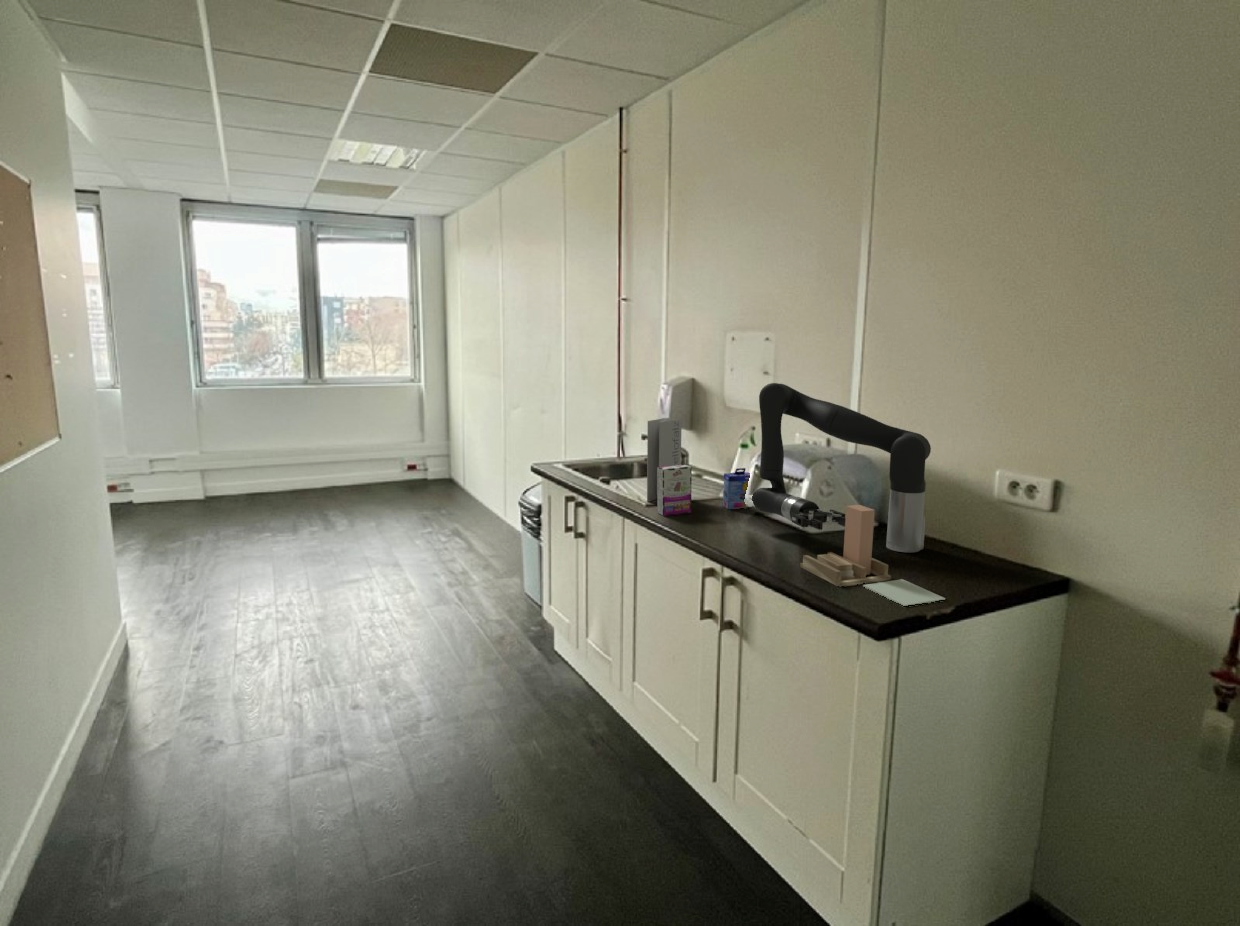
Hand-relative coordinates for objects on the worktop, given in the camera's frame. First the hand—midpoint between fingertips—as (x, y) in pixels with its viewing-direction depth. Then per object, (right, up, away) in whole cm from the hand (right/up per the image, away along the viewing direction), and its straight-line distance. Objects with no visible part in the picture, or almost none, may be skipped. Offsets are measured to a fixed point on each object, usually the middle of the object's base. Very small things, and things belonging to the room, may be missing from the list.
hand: (834, 524), depth 190 cm
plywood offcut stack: (-3, -12, -10) cm, 16 cm away
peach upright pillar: (+3, -11, -7) cm, 14 cm away
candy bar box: (-39, -1, +53) cm, 66 cm away
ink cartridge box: (-16, +1, +61) cm, 63 cm away
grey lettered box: (-42, +3, +73) cm, 84 cm away
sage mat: (+9, -14, -23) cm, 29 cm away
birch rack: (0, -12, -9) cm, 14 cm away
